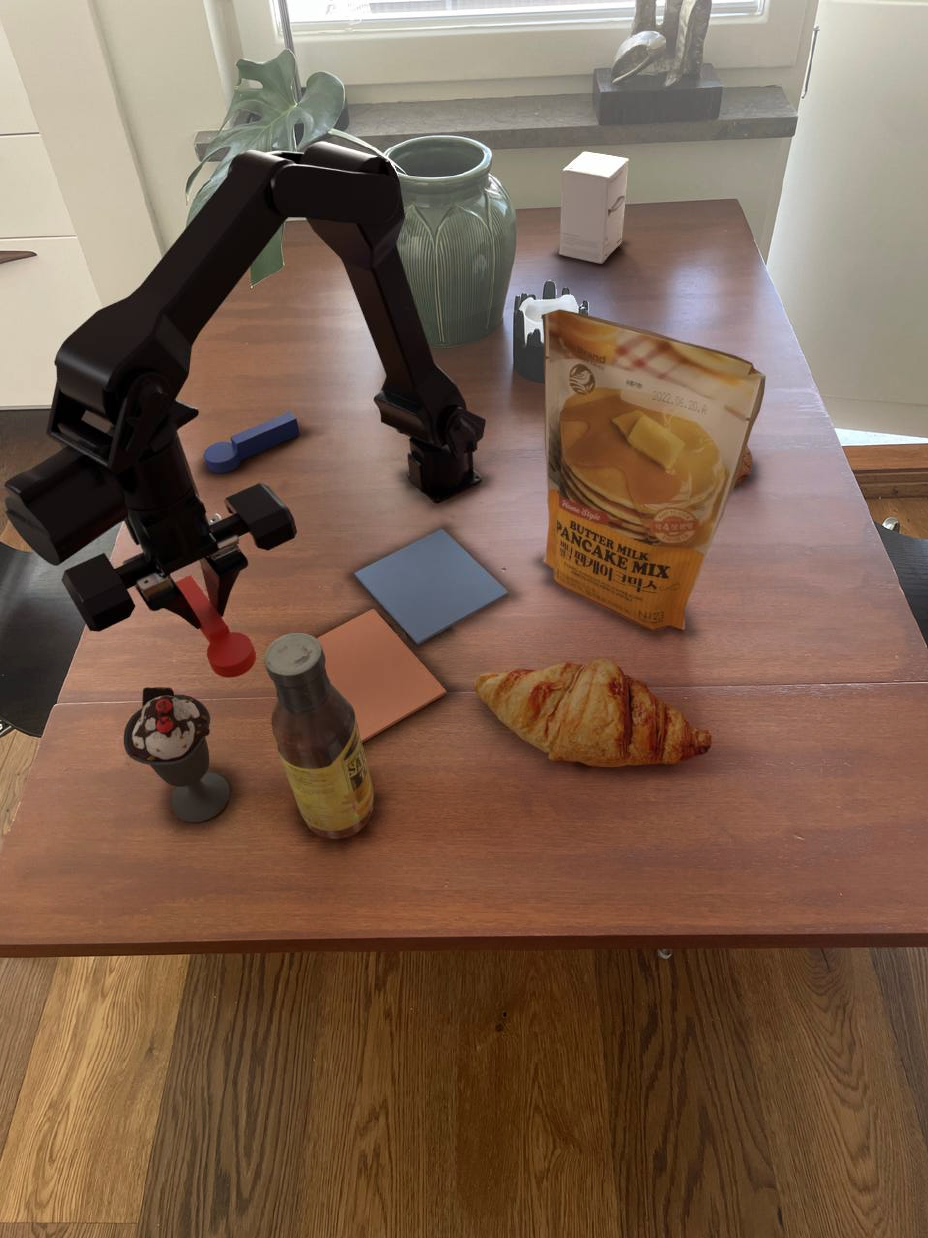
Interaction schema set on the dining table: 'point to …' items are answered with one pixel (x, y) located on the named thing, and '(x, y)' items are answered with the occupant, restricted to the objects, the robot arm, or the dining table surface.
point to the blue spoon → (250, 443)
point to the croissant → (591, 715)
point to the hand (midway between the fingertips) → (208, 620)
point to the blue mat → (430, 585)
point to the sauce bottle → (318, 740)
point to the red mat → (376, 673)
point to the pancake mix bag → (639, 460)
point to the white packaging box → (592, 206)
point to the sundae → (177, 751)
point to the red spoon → (219, 634)
